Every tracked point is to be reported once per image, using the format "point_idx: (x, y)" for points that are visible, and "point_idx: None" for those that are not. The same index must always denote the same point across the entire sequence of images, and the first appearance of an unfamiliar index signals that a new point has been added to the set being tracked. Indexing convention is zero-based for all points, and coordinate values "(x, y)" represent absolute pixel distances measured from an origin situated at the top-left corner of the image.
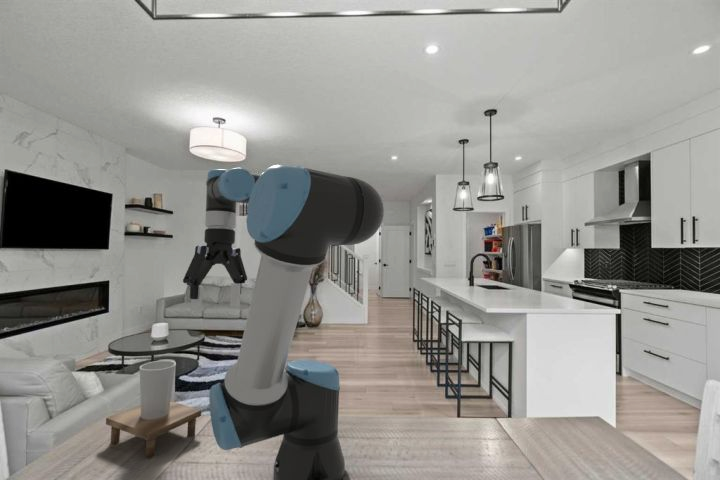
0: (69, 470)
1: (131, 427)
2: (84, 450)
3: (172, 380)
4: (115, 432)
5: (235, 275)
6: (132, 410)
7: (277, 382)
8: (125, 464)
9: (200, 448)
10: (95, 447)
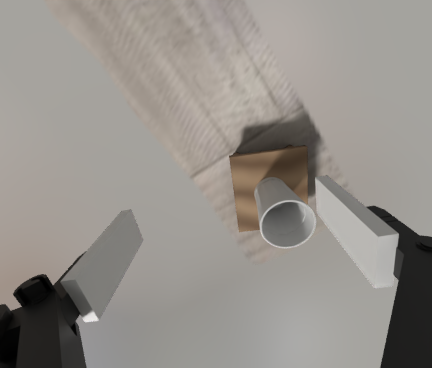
0: (342, 185)
1: (307, 180)
2: (315, 211)
3: (268, 196)
4: None
5: (64, 336)
6: None
7: None
8: (311, 153)
9: (249, 118)
10: None
